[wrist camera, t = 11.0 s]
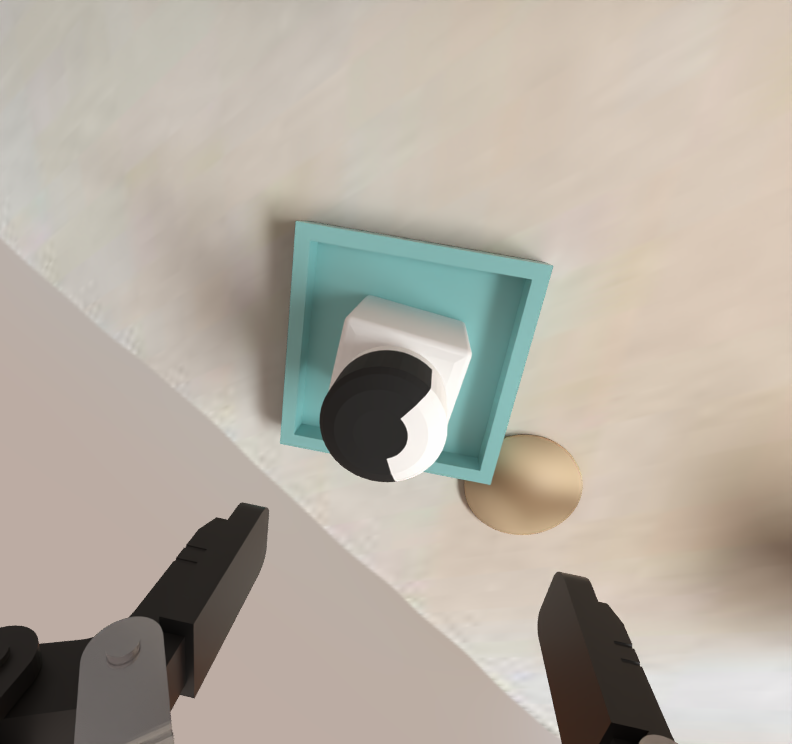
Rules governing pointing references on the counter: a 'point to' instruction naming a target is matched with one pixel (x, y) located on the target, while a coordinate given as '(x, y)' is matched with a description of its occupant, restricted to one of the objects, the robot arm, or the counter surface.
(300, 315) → the tray
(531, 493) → the cork coaster
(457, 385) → the white square bottle
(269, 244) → the counter surface
